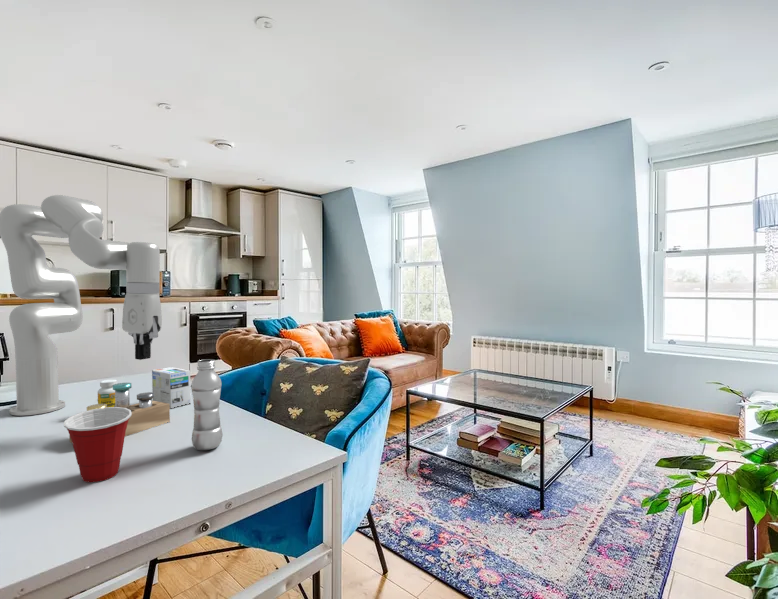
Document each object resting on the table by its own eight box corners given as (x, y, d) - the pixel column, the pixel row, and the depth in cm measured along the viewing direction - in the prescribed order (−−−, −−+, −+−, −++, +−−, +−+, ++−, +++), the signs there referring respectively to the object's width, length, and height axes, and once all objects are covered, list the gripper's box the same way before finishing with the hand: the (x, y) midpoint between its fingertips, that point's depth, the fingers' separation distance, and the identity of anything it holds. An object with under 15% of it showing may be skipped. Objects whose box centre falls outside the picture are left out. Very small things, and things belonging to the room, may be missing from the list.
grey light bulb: (133, 423, 109) (133, 395, 109) (148, 418, 113) (147, 391, 112) (143, 425, 107) (142, 397, 107) (158, 421, 111) (157, 393, 111)
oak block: (69, 442, 98) (69, 421, 97) (150, 417, 115) (150, 400, 115) (89, 448, 94) (88, 426, 94) (169, 422, 112) (169, 403, 112)
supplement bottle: (120, 410, 123) (119, 378, 122) (120, 414, 118) (120, 381, 118) (98, 413, 120) (97, 380, 119) (97, 418, 115) (96, 384, 115)
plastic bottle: (192, 456, 90) (190, 364, 89) (191, 445, 96) (189, 359, 95) (224, 450, 93) (223, 362, 92) (221, 440, 99) (220, 357, 98)
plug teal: (109, 414, 104) (109, 385, 103) (125, 410, 107) (125, 381, 107) (119, 417, 102) (118, 387, 102) (135, 412, 105) (134, 383, 105)
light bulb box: (191, 404, 129) (191, 369, 129) (170, 409, 123) (169, 373, 123) (172, 399, 135) (171, 366, 134) (151, 403, 129) (150, 369, 129)
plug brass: (83, 438, 98) (82, 407, 98) (101, 433, 102) (100, 402, 102) (93, 441, 97) (92, 409, 96) (111, 435, 100) (110, 405, 100)
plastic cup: (56, 494, 73) (54, 427, 73) (74, 469, 83) (73, 410, 83) (128, 483, 77) (126, 419, 77) (137, 460, 87) (136, 404, 87)
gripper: (111, 288, 109) (111, 357, 110) (147, 290, 102) (147, 364, 103) (139, 288, 116) (139, 353, 116) (175, 290, 109) (174, 359, 110)
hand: (142, 358), depth 110 cm, fingers closed
